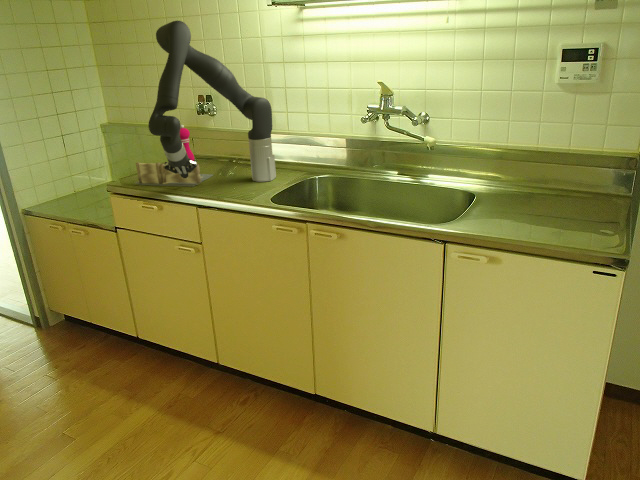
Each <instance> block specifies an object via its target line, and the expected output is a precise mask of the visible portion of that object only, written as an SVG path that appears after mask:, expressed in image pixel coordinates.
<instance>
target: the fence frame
mask: <svg viewBox="0 0 640 480" xmlns="http://www.w3.org/2000/svg"><path fill="white" fill-rule="evenodd" d="M160 164H161V162H156V163H151V162H150V163H149V162H148V163H142V162H140V161H138V162H137V161H136V162H135V166H136V172H137V173H136V174H137V178H138V182H139V183H155V184H162V183H163V179H162V172H161V166H160Z"/></svg>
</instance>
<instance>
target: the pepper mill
mask: <svg viewBox="0 0 640 480" xmlns="http://www.w3.org/2000/svg"><path fill="white" fill-rule="evenodd" d="M190 134H191V133H190V130H189V129H188V128H186V127H185V125H184V124H180V138H181V141H182V143H183V145H184V147H185V150H186V152H187V155H188V158H190V160H191V161H194V160H196V159H195V155H194V152H193V151H192V150H191V147H190V136H191V135H190Z"/></svg>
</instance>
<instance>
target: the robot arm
mask: <svg viewBox="0 0 640 480" xmlns="http://www.w3.org/2000/svg"><path fill="white" fill-rule="evenodd" d="M155 39H156V41H157V44H158V46H159V47H160V48H161V49H162V50H163V51H164V52H166V53H167V54H168V56H167V59H166V62H165V66H164V69H163V70H162V73H161V76H160V77H159V82H158V87H157V93H156V95H157V96H156V102H155V105H154V107H153V108H154V109H153V110H152V112H151V114H150V116H149V117H150V118H149V120H148V130H149V132H150V134H152V135H153V136H159V140H160V144H161V146H162V149H163V152H164V155H165V157H166V159H167V161H165V162H164V163H163V164H164V169H166V170H169V171H171V172H173V173H175V174H177V173H179V174H180V175H181V177H183V178H187V177H188V173H191V172H192V171H193V170H194V169H195V168H196V167H197V164H198V160H196V159H194V161H191V160H190V158H188V155H187V152H186V150H185V147H184V145H183V143H182V141H181V138H180V125H181V122H180V121H181V120H180V119H179V118H178V117H176V116H174V115H172V116H171V115H164V114H165V113H166V112H169V111H170V112H171V111H175V110H177V109H178V105H179V97H180V87H181V80H182V76H183V70H184V66H186V67H187V68H188V69H190V71H192V72H193V73H194V74H195V75H197V76H198V77H199V78H200V79H202V80H203V81H204V82H205V83H206V84H207V85H209V86H210V87H211V88H212V89H213V90H215V91H216V92H217V93H218V94H219V95H220V96H222V97H224V98H225V99H226V100H228V101H229V102H230V103H231V104H232V105H233V106H234V107H235V108H236V109H237V110H238V111H239V112H240V113H241V114H242V115H243V116H244V117H245V118H246V119H248V120H251V125H252V127H251V129H249V131H248V132H247V137H248V149H249V157H250V158H249V159H250V169H251V170H250V171H251V178H252V181H253V182H260V183H261V182H269V181H270V182H271V181H273V180H274V179H276V178H277V172H276V170H277V169H276V159H275V158H276V157H275V154H273V144H272V132H273V110H272V106H271V102H270V100H268V99H267V98H264V97H259V96H253V95H252V94H251V93H249V92H248V91H246V90H245V89H244V88H243V87H242V86H241V85H240V84H239V82H238V80H237V78H236V77H235V75H234V73H233V72H232V71H231V70H230V69H229V68H228V67H227V66H225V64H223V63H222V62H221V61H220V60H219V59H217V58H215V57H213V56H211V55H209V54H206V53H204V52H202V51H199V50H197V49H196V48H194V47H193V46H191V45H190V44H191V39H192V33H191V31H190V28H189V26H188V25H187V24H186V23H185V22H184V21H182V20H173V21H171V22H168V23H165V24H164V25H162V26H160V27H158V28H157V30H156V32H155ZM173 168H174V170H173Z"/></svg>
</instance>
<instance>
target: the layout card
mask: <svg viewBox="0 0 640 480" xmlns="http://www.w3.org/2000/svg"><path fill="white" fill-rule="evenodd" d="M213 176H214V174H211V173H210V174H208V173H206V174H205V173H202V174H201V173H200V177H201V183H203V182H204V181H206V180H208V179H210V178H211V177H213ZM134 184H138V186H158V187H159V186H163V187H164V186H166V187H191V188H193V187H195V186H197V185H198V184H197V183H168V182H166V183H162V184H155V183H139V181H136V182H134V183H133V185H134Z"/></svg>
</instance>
